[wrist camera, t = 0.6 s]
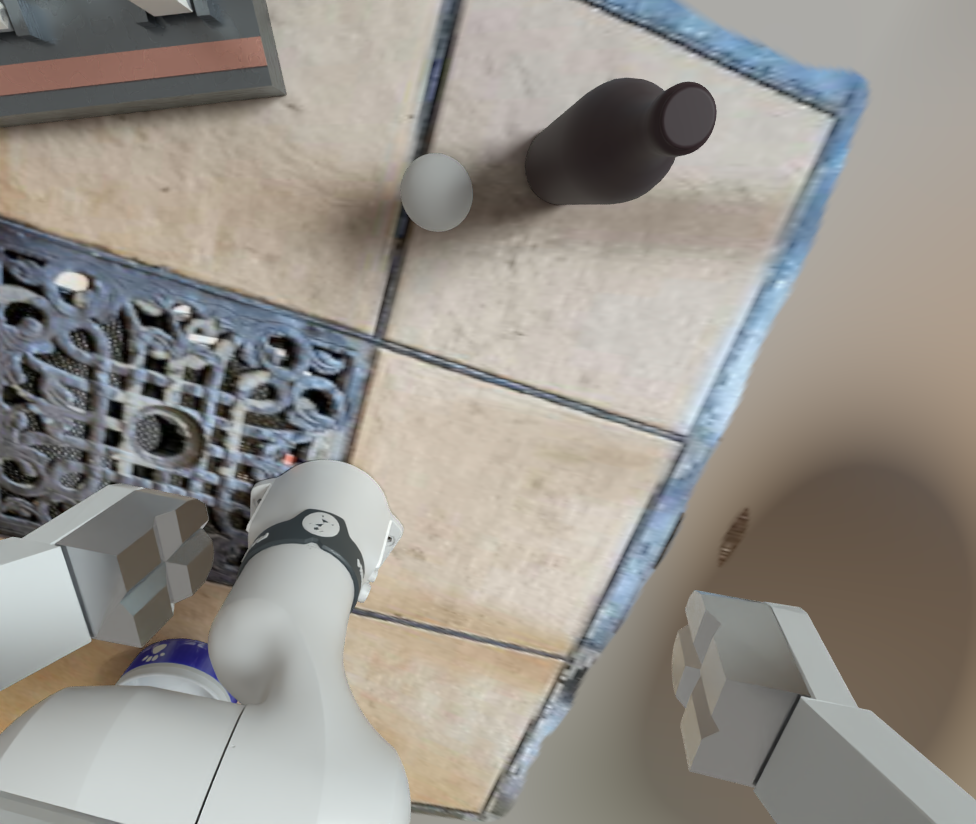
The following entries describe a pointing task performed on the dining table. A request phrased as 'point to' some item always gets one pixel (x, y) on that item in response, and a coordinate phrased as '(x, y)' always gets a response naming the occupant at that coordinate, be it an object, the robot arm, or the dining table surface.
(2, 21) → the on lever
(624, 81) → the wine bottle
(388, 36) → the dining table surface
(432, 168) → the lightbulb
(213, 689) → the dog bowl
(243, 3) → the breaker box
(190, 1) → the lever
